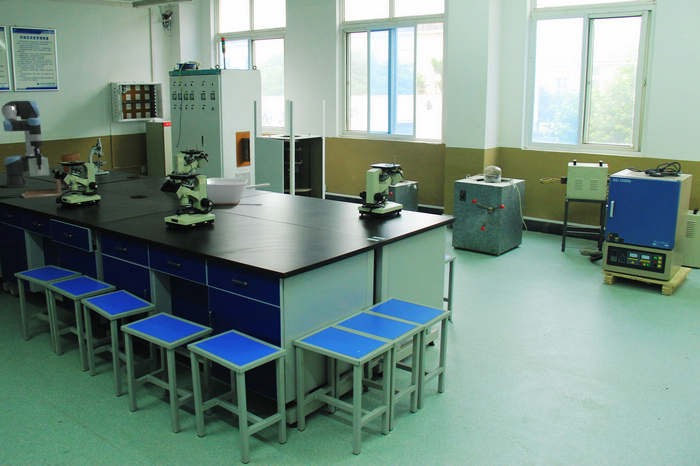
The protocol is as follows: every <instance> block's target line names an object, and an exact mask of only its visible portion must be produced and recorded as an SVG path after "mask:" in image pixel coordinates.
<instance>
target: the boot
mask: <svg viewBox="0 0 700 466" xmlns="http://www.w3.org/2000/svg"><path fill="white" fill-rule="evenodd" d="M80 153H81V152H76V153H70V154H69V153H68V154H63V155H60V159H61V163H62V162H69V161H75V160H77V161H81V156H80ZM62 169H63V173H64V172H69V167H65V166H63V165H62ZM63 186H64V189H65V190H66V189H69V188H70V187H69V186H68V185H66V184H65V183H64V182H63Z"/></svg>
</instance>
